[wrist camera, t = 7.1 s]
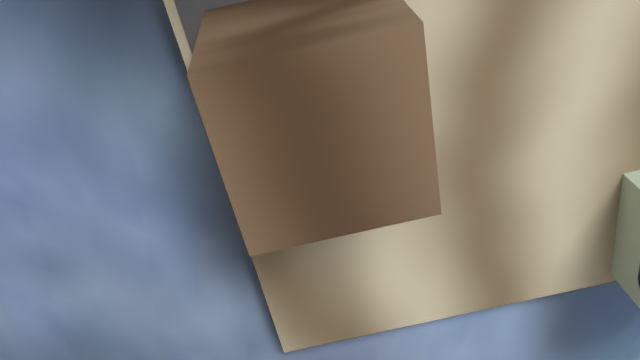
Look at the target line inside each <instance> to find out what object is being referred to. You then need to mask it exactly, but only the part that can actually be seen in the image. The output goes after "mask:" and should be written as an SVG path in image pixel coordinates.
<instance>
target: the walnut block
mask: <svg viewBox="0 0 640 360" xmlns="http://www.w3.org/2000/svg"><path fill="white" fill-rule="evenodd" d="M187 78H188V81H189V84H190V87H191V90H192V93H193V95H194V98H195V101H196V104H197V107H198V110H199V113H200V116H201V118H202V121H203V124H204V127H205V130H206V133H207V136H208V139H209V141H210V144H211V147H212V150H213V153H214V156H215V159H216V162H217V164H218V167H219V170H220V173H221V176H222V179H223V182H224V185H225V187H226V190H227V193H228V196H229V199H230V202H231V205H232V208H233V210H234V213H235V216H236V219H237V222H238V225H239V228H240V231H241V233H242V236H243V239H244V242H245V245H246V248H247V251H248V253H249V256H254V255H259V254H263V253H268V252H273V251H277V250H282V249H286V248H291V247H295V246H300V245H304V244H309V243H313V242H318V241H322V240H327V239H331V238H336V237H340V236H345V235H350V234H354V233H359V232H363V231H368V230H372V229H377V228H381V227H386V226H390V225H395V224H399V223H404V222H408V221H413V220H418V219H422V218H427V217H431V216H436V215H440V214H442V213H441V203H440V192H439V182H438V171H437V161H436V150H435V140H434V129H433V119H432V108H431V98H430V87H429V77H428V66H427V56H426V45H425V35H424V24H423V21H422V20H421V19H420V18H419V17H418V16H417V15H416V13H415V12H414V11H413V10H412V9H411V8H410V7H409V6H408V5H407V3H406V2H405V1H404V0H249V1H245V2H240V3H236V4H232V5H227V6H223V7H219V8H214V9H210V10H205V11H204V14H203V18H202V21H201V25H200V29H199V32H198V36H197V40H196V43H195V47H194V51H193V54H192V58H191V61H190V65H189V69H188V72H187Z"/></svg>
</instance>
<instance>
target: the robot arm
mask: <svg viewBox="0 0 640 360" xmlns="http://www.w3.org/2000/svg"><path fill="white" fill-rule="evenodd" d="M638 284H639V288H640V265H639V271H638Z"/></svg>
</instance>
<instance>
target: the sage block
mask: <svg viewBox="0 0 640 360" xmlns="http://www.w3.org/2000/svg"><path fill="white" fill-rule="evenodd" d="M639 265H640V170H638V171H633V172H629V173H624V174H623V178H622V186H621V195H620V203H619V211H618V219H617V227H616V236H615V244H614V252H613V260H612V268H611V274H612V276H613V277H614V278H615V279H616V281H617V282H618V283H619V284H620V286H621V287H622V288H623V289H624V290H625V292H626V293H627V294H628V295H629V297H630V298H631V299H632V300H633V301H634V303H635V304H636V305H637V306H638V308H639V309H640V288H639V284H638V271H639Z"/></svg>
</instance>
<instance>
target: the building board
mask: <svg viewBox="0 0 640 360" xmlns="http://www.w3.org/2000/svg"><path fill="white" fill-rule="evenodd" d="M245 1H249V0H163V2H164V5H165V7H166V10H167V13H168V16H169V19H170V22H171V25H172V28H173V31H174V34H175V37H176V39H177V42H178V45H179V48H180V51H181V54H182V57H183V60H184V63H185V66H186V69H187V71H188V69H189V65H190V61H191V58H192V54H193V51H194V47H195V43H196V40H197V36H198V32H199V29H200V25H201V21H202V18H203V14H204V11H205V10H210V9H214V8H219V7H223V6H227V5H232V4H236V3H240V2H245ZM404 1H405V2H406V3H407V5H408V6H409V7H410V8H411V9H412V10H413V11H414V12H415V13H416V15H417V16H418V17H419V18H420V19H421V20H422V21H423V24H424V35H425V45H426V56H427V66H428V77H429V87H430V98H431V108H432V119H433V129H434V140H435V150H436V161H437V171H438V182H439V192H440V203H441V213H442V214H440V215H436V216H431V217H427V218H422V219H418V220H413V221H408V222H404V223H399V224H395V225H390V226H386V227H381V228H377V229H372V230H368V231H363V232H359V233H354V234H350V235H345V236H340V237H336V238H331V239H327V240H322V241H318V242H313V243H309V244H304V245H300V246H295V247H291V248H286V249H282V250H277V251H273V252H268V253H263V254H259V255H254V256H251V258H252V261H253V263H254V266H255V269H256V272H257V275H258V278H259V281H260V284H261V287H262V290H263V293H264V295H265V298H266V301H267V304H268V307H269V310H270V313H271V316H272V319H273V322H274V325H275V327H276V330H277V333H278V336H279V339H280V342H281V345H282V348H283V351H284V353H285V352H290V351H295V350H299V349H304V348H309V347H313V346H318V345H322V344H327V343H332V342H336V341H341V340H346V339H350V338H355V337H359V336H364V335H369V334H373V333H378V332H383V331H387V330H392V329H396V328H401V327H406V326H410V325H415V324H420V323H424V322H429V321H434V320H438V319H443V318H447V317H452V316H457V315H461V314H466V313H471V312H475V311H480V310H484V309H489V308H494V307H498V306H503V305H508V304H512V303H517V302H521V301H526V300H531V299H535V298H540V297H545V296H549V295H554V294H558V293H563V292H568V291H572V290H577V289H582V288H586V287H591V286H595V285H600V284H605V283H609V282H614V281H616V279H615V278H614V277H613V276H612V274H611V268H612V260H613V252H614V244H615V236H616V227H617V219H618V211H619V203H620V195H621V186H622V178H623V174H624V173H629V172H633V171H638V170H640V0H404Z"/></svg>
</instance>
